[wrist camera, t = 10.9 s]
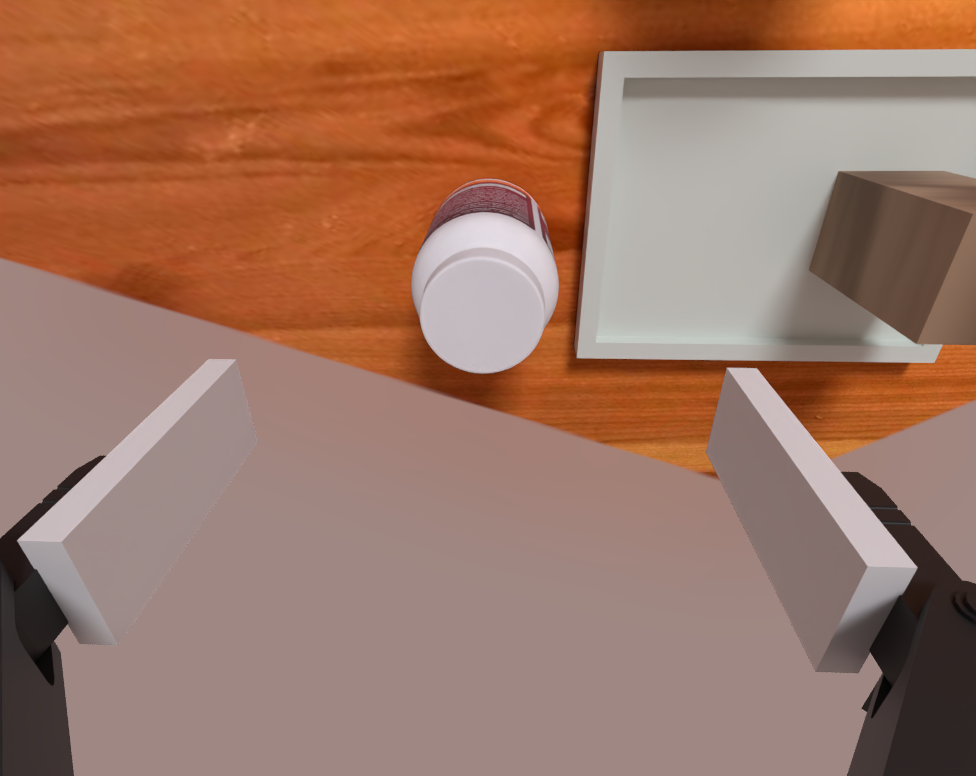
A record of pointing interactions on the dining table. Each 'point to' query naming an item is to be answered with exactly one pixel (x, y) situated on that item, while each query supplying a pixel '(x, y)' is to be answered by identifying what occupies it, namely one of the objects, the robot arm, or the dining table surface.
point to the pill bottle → (485, 277)
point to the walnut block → (904, 250)
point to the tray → (750, 195)
